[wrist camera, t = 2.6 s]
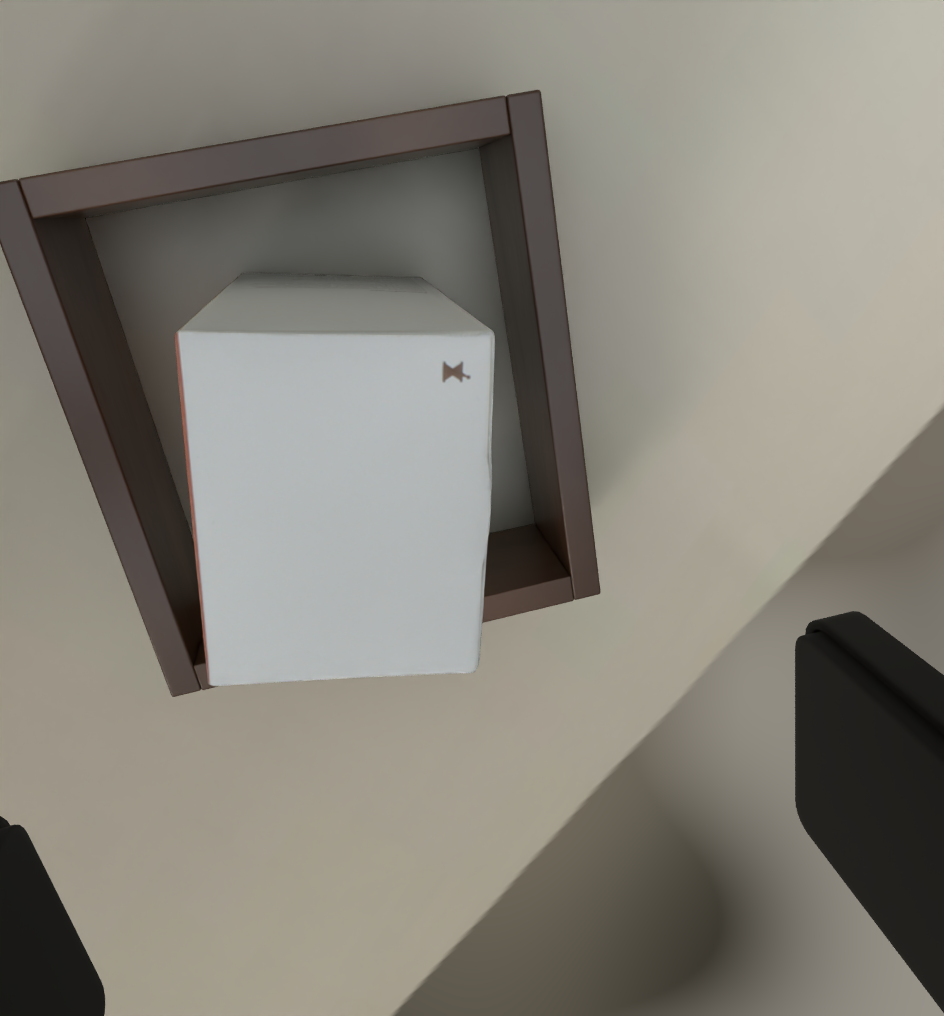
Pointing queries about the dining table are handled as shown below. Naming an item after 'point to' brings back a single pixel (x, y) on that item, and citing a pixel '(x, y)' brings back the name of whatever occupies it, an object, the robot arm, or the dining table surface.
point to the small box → (337, 477)
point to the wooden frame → (272, 160)
